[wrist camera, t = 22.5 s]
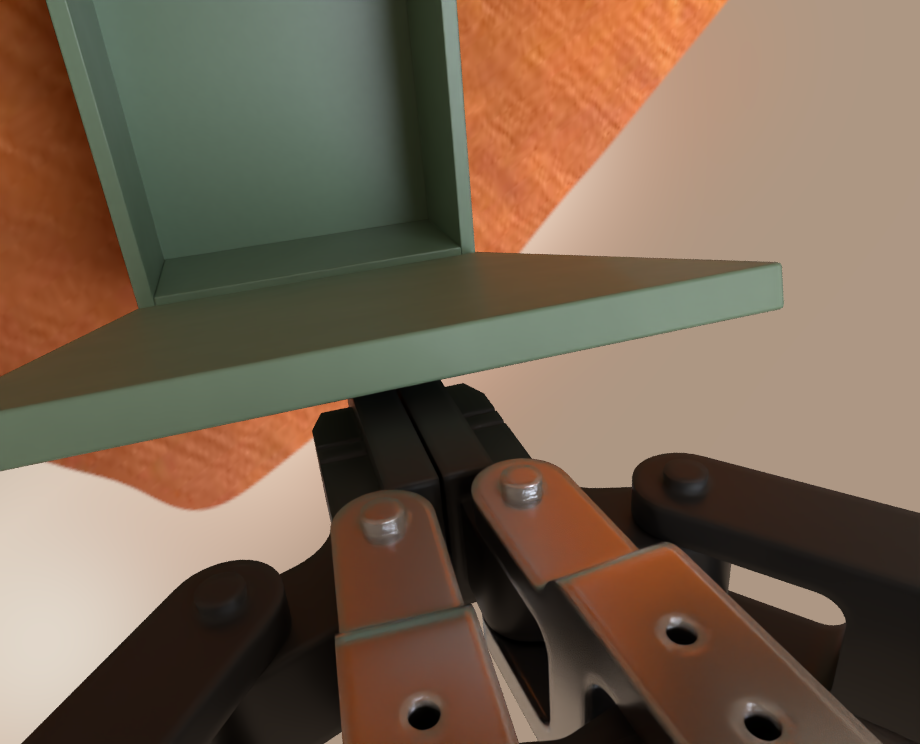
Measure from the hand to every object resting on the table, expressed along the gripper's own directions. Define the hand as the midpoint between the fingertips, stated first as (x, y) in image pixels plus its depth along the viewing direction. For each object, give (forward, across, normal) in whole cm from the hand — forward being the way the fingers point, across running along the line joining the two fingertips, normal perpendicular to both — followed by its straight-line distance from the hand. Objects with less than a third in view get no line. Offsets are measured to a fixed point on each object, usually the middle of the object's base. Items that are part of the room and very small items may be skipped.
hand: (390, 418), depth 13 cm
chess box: (+22, 0, -6) cm, 23 cm away
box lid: (+7, 0, 0) cm, 7 cm away
